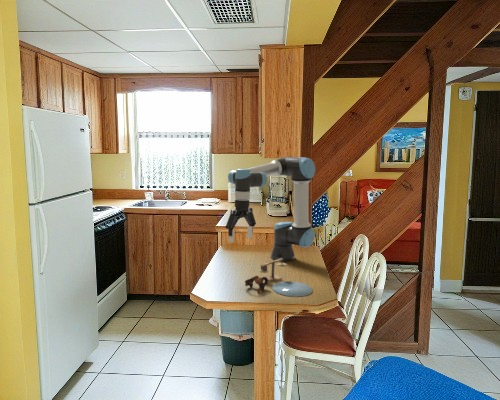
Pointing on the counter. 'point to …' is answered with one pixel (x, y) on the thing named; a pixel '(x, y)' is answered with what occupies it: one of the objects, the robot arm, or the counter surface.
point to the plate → (292, 289)
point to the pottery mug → (257, 281)
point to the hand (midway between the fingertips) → (240, 240)
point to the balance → (272, 277)
